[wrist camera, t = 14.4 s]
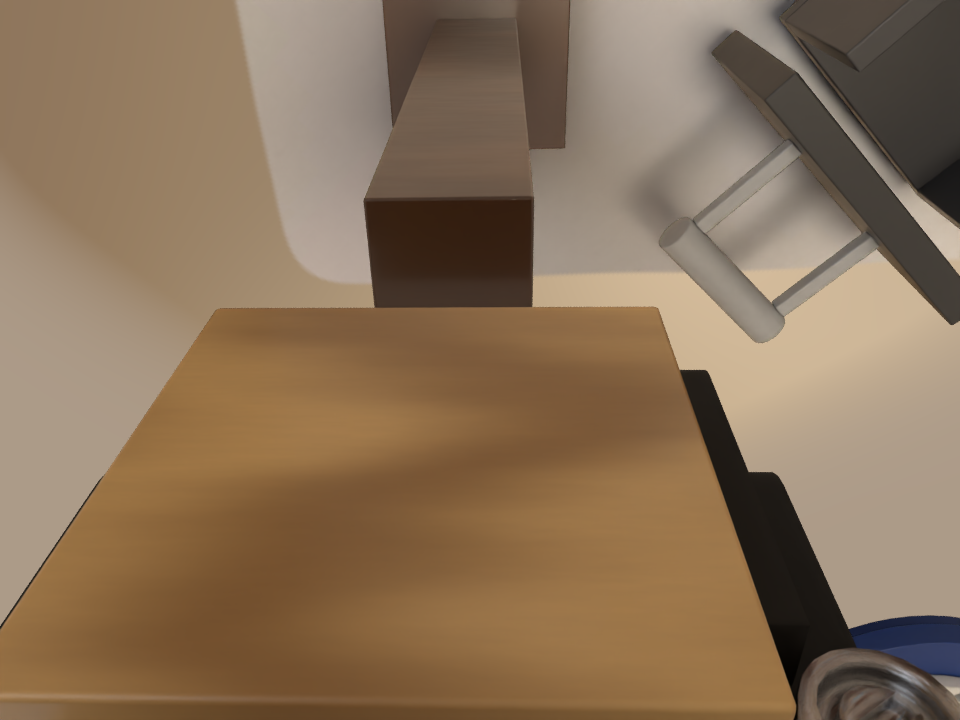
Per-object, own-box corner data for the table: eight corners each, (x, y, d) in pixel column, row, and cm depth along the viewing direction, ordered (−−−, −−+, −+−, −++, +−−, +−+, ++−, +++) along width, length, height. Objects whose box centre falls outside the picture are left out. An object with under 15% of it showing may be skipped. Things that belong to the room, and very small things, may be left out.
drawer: (761, 325, 37) (813, 418, 31) (598, 157, 33) (620, 226, 26) (1140, 43, 30) (1307, 90, 24) (993, -213, 26) (1149, -237, 20)
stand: (569, -46, 29) (661, 75, 13) (562, 140, 33) (627, 426, 16) (383, -42, 30) (227, 82, 13) (397, 142, 33) (291, 427, 16)
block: (658, 304, 9) (801, 709, 5) (624, 612, 11) (694, 1052, 7) (216, 306, 9) (-51, 695, 5) (281, 608, 12) (149, 1036, 7)
